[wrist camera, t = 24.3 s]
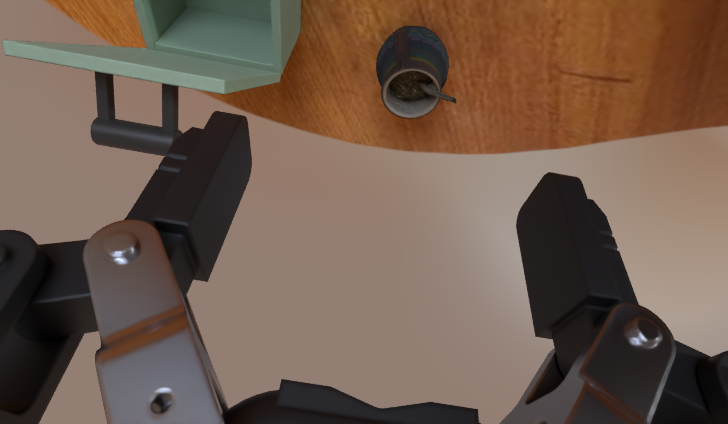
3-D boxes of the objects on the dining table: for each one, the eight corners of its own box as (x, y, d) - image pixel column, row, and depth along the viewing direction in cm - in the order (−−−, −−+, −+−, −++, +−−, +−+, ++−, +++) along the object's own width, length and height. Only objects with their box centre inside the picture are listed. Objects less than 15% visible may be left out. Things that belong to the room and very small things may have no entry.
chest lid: (0, 39, 21) (15, 141, 23) (224, 79, 22) (220, 176, 24) (144, 48, 35) (146, 112, 37) (281, 73, 35) (275, 135, 37)
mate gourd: (366, 32, 40) (355, 87, 34) (439, 2, 37) (441, 56, 31) (392, 90, 45) (387, 147, 39) (458, 67, 42) (464, 125, 36)
